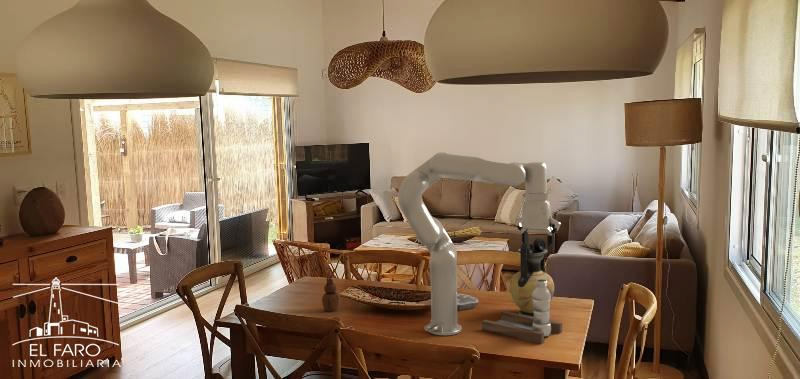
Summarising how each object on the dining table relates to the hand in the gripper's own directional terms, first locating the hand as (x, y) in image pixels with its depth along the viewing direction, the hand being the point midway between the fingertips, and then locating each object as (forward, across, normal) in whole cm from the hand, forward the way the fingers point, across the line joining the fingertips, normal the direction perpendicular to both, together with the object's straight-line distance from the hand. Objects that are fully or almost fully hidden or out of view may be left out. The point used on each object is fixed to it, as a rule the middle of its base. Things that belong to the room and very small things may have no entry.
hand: (537, 244), depth 230 cm
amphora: (+32, -12, +17) cm, 38 cm away
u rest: (+32, -6, -4) cm, 32 cm away
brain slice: (+32, -44, +10) cm, 55 cm away
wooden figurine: (+30, -82, -25) cm, 90 cm away
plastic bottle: (+32, +2, -4) cm, 32 cm away
